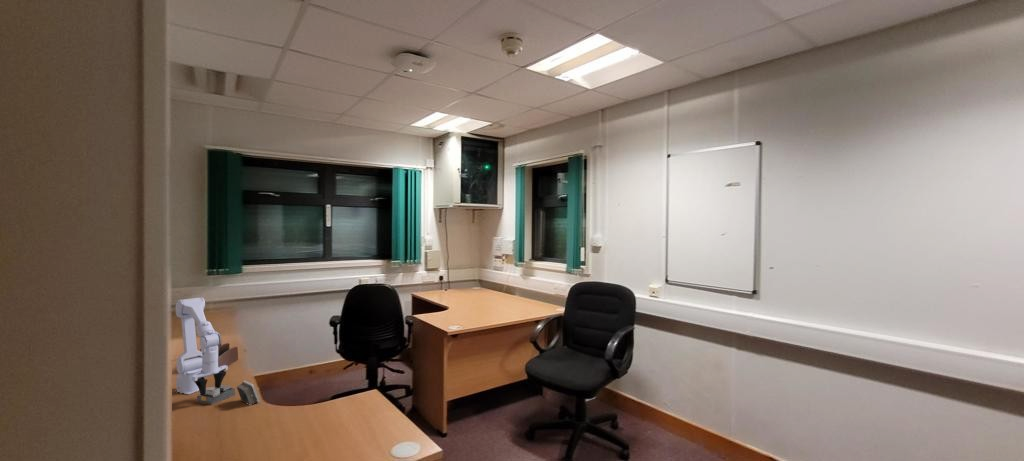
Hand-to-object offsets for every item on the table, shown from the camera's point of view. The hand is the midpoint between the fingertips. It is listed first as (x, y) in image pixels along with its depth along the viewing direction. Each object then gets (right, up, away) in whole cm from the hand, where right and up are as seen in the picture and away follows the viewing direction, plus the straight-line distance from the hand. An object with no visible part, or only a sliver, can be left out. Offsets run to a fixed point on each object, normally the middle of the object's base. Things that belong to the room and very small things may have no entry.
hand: (210, 391), depth 178 cm
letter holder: (-29, -4, +45) cm, 54 cm away
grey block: (+1, -4, 0) cm, 4 cm away
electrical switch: (+18, -5, -2) cm, 19 cm away
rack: (+1, -4, +2) cm, 5 cm away
